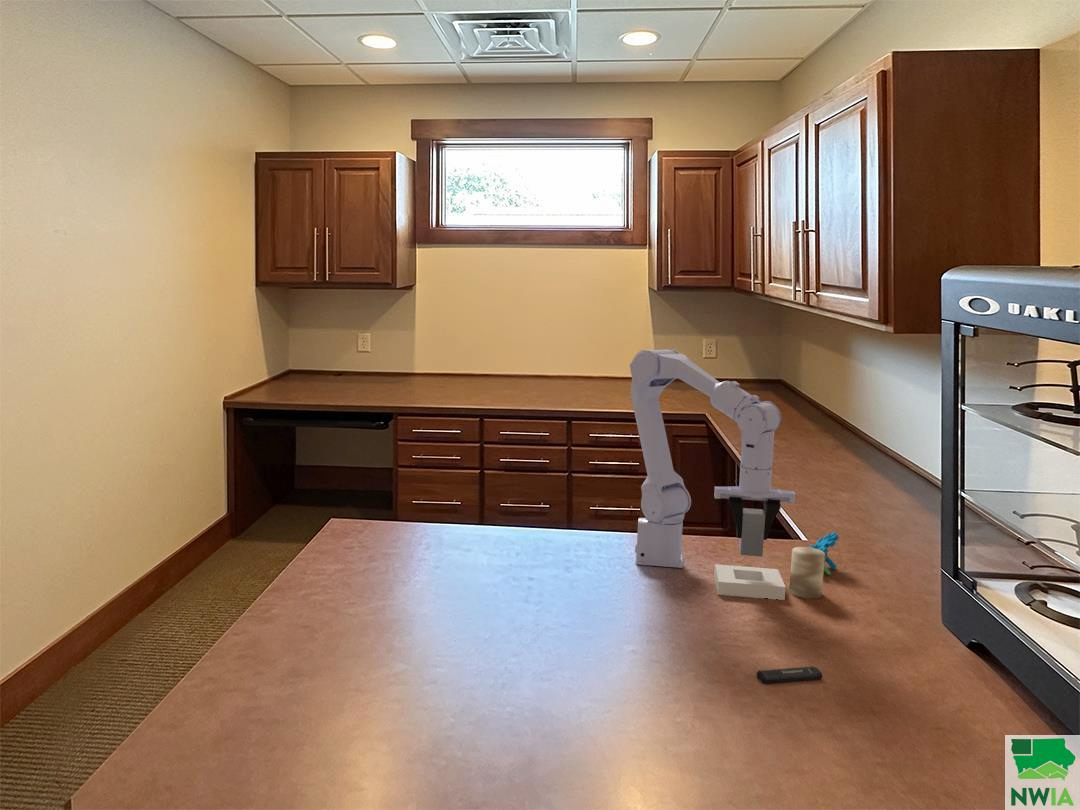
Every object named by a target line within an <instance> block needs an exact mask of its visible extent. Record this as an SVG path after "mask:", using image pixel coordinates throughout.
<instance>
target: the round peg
mask: <svg viewBox="0 0 1080 810" xmlns="http://www.w3.org/2000/svg"><path fill="white" fill-rule="evenodd" d="M824 559H825V553H824V552H823V551H821V550H819V549H815V548H810V546H809V547H808V546H796V547H794V548H791V560H790V561H791V563H790V576H789V586H788V587H789V589H788V592H789V591H790V592H789V593H790V594H791V595H793V596H795V597H799V598H803V599H810V598H811V599H812V598H814V599H819V598H821V597H822V595H823V584H824V583H823V582H824V573H825V571H824V566H825V564H824Z"/></svg>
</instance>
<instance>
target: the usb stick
mask: <svg viewBox="0 0 1080 810" xmlns="http://www.w3.org/2000/svg"><path fill="white" fill-rule="evenodd" d="M756 677H757V679H758V680H759V681H760V682H761V683H762V684H765V685H768V684H770V685H772V684H783V683H793V682H794V683H796V682H805V681H806V682H807V681H808V682H809V681H817V680H820V681H821V679H823V674H822V672H821V671H820V670H819V668H817V667H815V666H801V667H790V668H789V667H788V668H780V669H778V668H777V669H767V670H766V669H764V670H758V671H757V672H756Z"/></svg>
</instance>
